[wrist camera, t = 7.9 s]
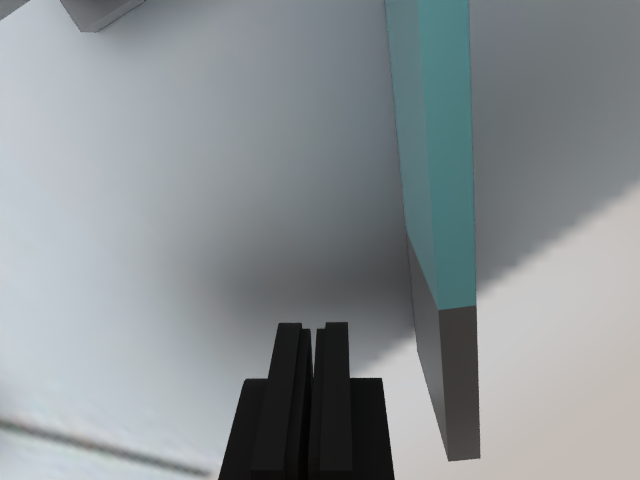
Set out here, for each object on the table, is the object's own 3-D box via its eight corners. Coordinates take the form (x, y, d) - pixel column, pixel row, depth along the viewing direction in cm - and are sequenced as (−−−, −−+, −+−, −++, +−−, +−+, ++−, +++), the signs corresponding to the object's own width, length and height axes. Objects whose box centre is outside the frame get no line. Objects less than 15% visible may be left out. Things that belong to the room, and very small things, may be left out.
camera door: (367, -135, 10) (392, -247, 6) (412, -145, 10) (469, -265, 6) (414, 351, 16) (444, 461, 12) (444, 347, 15) (484, 457, 11)
